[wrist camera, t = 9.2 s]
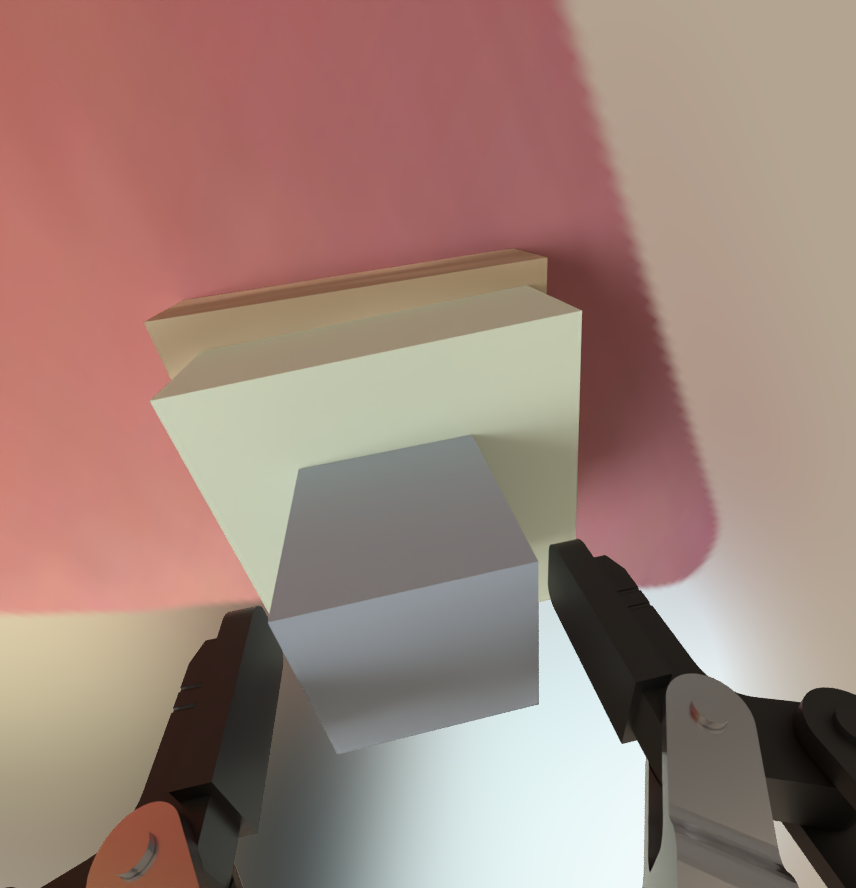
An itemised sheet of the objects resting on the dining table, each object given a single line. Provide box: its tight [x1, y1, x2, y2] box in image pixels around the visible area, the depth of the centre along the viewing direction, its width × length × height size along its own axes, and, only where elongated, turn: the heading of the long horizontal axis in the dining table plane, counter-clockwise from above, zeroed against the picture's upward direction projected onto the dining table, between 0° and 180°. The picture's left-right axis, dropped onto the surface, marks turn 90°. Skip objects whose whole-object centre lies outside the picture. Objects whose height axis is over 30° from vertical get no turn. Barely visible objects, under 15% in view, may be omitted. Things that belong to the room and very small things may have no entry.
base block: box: [144, 248, 547, 380], centre depth 18 cm, size 13×13×4 cm
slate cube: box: [268, 434, 539, 754], centre depth 11 cm, size 5×5×5 cm
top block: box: [150, 285, 582, 613], centre depth 15 cm, size 11×11×4 cm
